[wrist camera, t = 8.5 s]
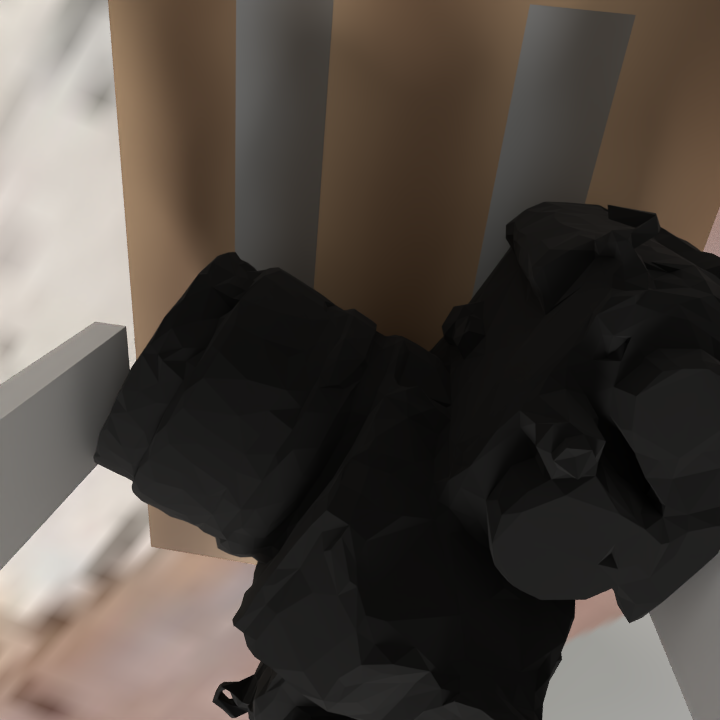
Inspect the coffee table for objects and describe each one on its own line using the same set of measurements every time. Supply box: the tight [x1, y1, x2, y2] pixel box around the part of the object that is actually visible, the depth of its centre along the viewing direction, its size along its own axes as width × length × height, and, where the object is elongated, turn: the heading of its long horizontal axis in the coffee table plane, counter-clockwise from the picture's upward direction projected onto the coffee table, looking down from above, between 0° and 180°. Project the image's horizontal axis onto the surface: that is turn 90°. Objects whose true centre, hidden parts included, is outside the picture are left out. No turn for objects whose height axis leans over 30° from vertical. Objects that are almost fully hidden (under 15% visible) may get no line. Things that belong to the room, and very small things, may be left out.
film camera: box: [93, 202, 720, 720], centre depth 12 cm, size 15×10×9 cm, turn 148°
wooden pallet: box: [108, 0, 720, 565], centre depth 18 cm, size 16×20×3 cm
